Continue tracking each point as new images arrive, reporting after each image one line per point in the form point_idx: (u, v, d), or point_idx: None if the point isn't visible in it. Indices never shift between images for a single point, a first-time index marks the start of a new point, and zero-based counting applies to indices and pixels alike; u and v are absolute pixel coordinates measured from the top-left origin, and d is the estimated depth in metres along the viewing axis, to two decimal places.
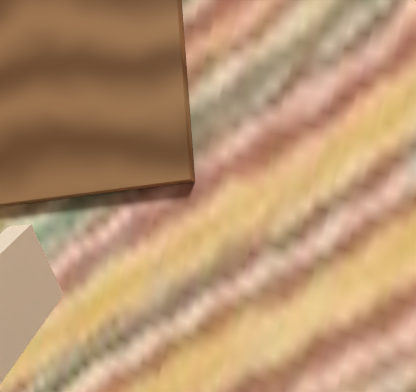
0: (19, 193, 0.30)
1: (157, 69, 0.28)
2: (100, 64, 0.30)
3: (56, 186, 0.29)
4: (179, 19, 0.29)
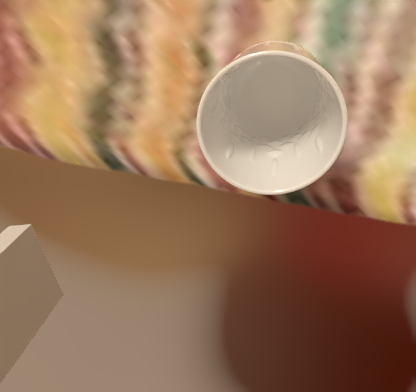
0: None
1: None
2: None
3: None
4: None
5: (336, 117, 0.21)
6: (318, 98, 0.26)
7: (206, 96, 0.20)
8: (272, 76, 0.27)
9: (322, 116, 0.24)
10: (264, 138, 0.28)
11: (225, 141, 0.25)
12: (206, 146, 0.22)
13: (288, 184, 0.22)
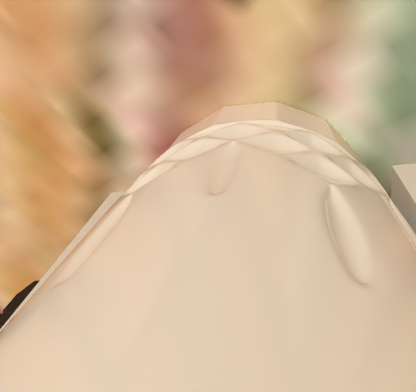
0: None
1: None
2: None
3: None
4: None
5: None
6: None
7: None
8: None
9: None
10: None
11: None
12: None
13: None
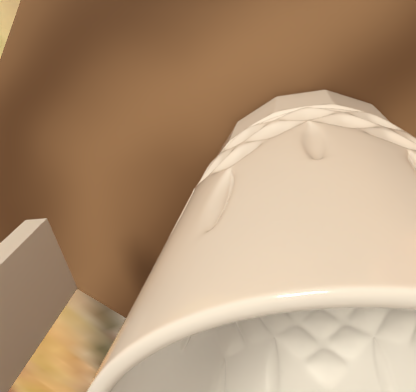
0: None
1: None
2: None
3: None
4: None
5: None
6: None
7: None
8: None
9: None
10: None
11: (203, 373, 0.09)
12: None
13: None
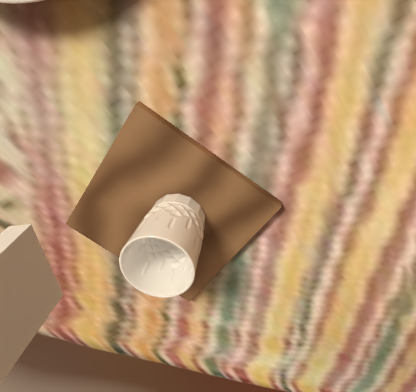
0: (208, 275, 0.51)
1: (212, 176, 0.44)
2: None
3: (222, 259, 0.49)
4: (194, 144, 0.43)
5: None
6: None
7: (122, 253, 0.38)
8: None
9: None
10: (172, 251, 0.46)
11: (143, 262, 0.43)
12: (126, 274, 0.40)
13: (173, 291, 0.40)
